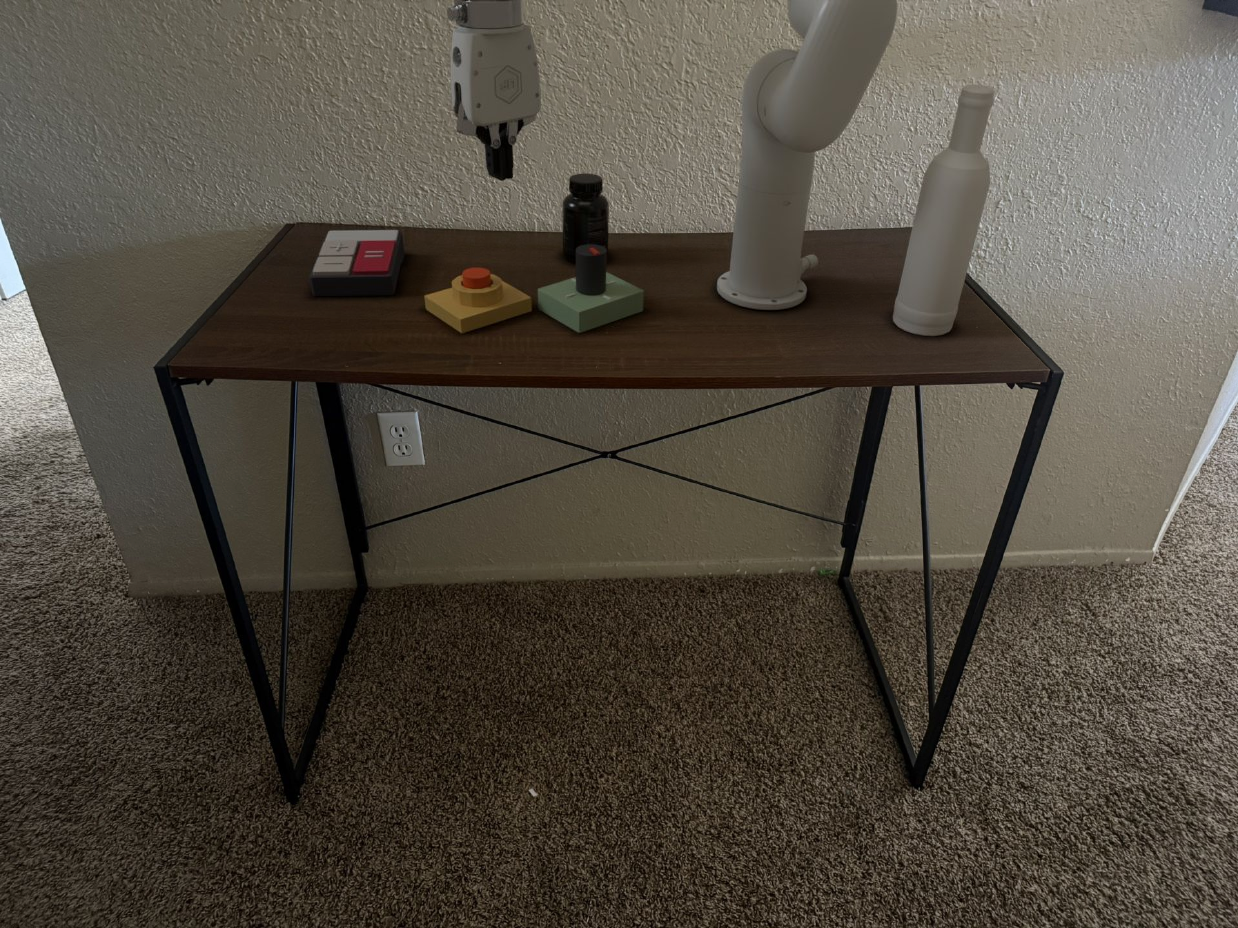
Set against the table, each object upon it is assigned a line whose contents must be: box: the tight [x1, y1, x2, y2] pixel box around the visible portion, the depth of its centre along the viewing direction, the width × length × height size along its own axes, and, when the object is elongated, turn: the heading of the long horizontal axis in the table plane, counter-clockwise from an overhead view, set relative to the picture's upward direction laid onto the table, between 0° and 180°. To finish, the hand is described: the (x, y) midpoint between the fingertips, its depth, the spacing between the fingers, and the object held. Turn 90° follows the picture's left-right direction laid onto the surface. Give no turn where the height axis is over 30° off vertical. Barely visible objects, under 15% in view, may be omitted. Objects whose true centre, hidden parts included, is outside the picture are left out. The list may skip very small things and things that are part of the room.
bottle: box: [892, 83, 996, 337], centre depth 113 cm, size 8×8×30 cm
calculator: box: [308, 229, 405, 297], centre depth 128 cm, size 11×4×15 cm
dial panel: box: [537, 271, 645, 334], centre depth 121 cm, size 11×9×3 cm
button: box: [461, 267, 491, 289], centre depth 118 cm, size 4×4×2 cm
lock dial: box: [575, 244, 608, 295], centre depth 119 cm, size 4×4×6 cm
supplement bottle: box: [562, 172, 610, 265], centre depth 134 cm, size 7×7×12 cm
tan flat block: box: [423, 273, 533, 334], centre depth 120 cm, size 11×9×4 cm
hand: (500, 176), depth 112 cm, fingers closed
